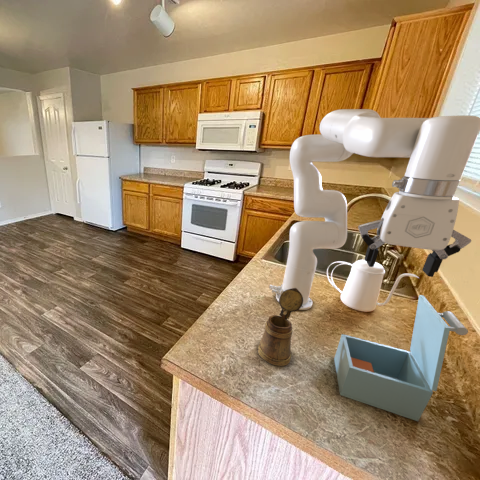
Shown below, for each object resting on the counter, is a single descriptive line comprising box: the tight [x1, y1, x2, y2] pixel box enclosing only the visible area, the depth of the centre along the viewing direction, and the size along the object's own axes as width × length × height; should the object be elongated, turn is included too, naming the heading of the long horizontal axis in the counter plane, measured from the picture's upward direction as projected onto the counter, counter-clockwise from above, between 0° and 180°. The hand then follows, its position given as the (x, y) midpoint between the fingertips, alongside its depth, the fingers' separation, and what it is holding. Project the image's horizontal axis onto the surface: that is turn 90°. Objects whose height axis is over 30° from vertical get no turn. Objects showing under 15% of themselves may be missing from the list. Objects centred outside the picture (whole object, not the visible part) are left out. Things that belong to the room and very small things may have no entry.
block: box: [351, 357, 374, 372], centre depth 66 cm, size 4×4×4 cm
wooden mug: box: [257, 288, 303, 367], centre depth 74 cm, size 9×14×18 cm, turn 136°
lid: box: [409, 294, 469, 392], centre depth 57 cm, size 15×13×5 cm
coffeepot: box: [326, 259, 420, 313], centre depth 96 cm, size 11×25×19 cm, turn 44°
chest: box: [333, 333, 434, 422], centre depth 65 cm, size 15×13×9 cm
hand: (397, 269), depth 56 cm, fingers open, 9 cm apart
